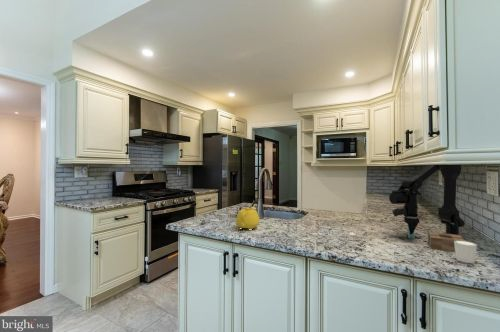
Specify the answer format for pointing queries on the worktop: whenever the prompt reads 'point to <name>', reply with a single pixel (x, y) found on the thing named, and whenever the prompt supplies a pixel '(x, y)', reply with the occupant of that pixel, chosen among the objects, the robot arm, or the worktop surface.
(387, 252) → the worktop surface
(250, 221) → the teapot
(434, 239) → the socket block
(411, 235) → the peg
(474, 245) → the white cup
